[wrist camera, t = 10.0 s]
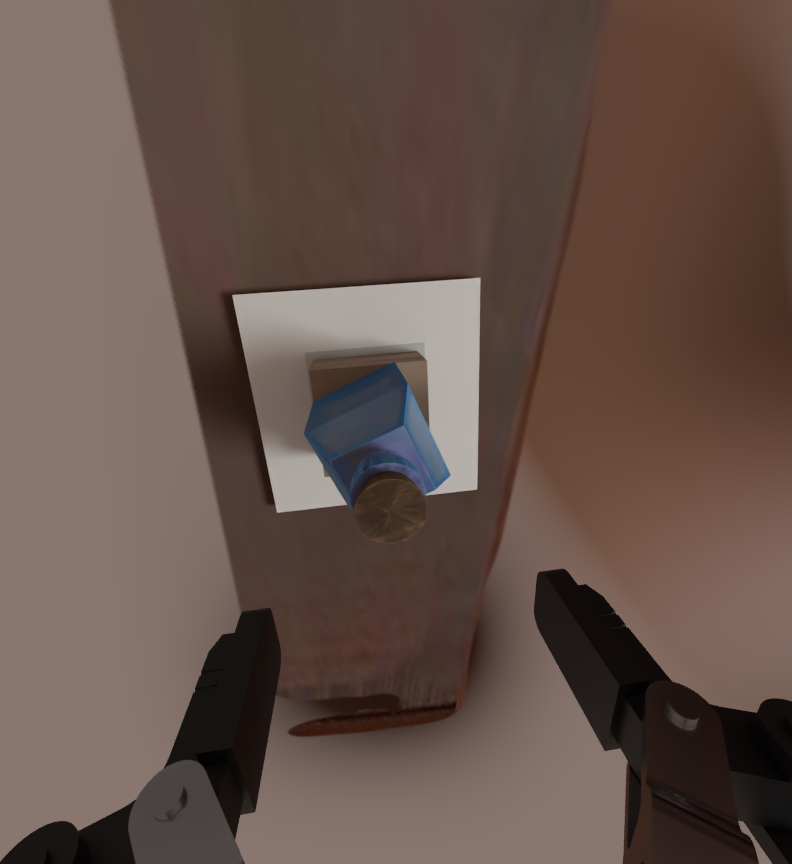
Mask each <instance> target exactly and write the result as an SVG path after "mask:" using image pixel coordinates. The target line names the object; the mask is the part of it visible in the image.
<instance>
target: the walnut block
mask: <svg viewBox="0 0 792 864" xmlns="http://www.w3.org/2000/svg"><path fill="white" fill-rule="evenodd" d="M392 362H395V363H396V365H397V366H398V368H399V370H400V371H401V373H402V375H403V376H404V378H405V379H406V381H407V383H408V385H409V387H410V389H411V391H412V393H413V396H414V398H415V400H416V402H417V404H418V406H419V408H420V410H421V413H422V415H423V417H424V419H425V421H426V423H427V425H428V428H429V401H428V373H427V360H426V359H425V358H424V357H423V356H422V355H421V354H420V353H419V352H418V351H412V352H400V353H389V354H377V355H365V356H354V357H342V358H330V359H319V360H313V363H312V365H311V367H310V369H309V376H310V383H311V389H312V396H313V401H315V400H317V399H319V398H321V397H323V396H325V395H327V394H330V393H332V392H334V391H336V390H338V389H340V388H342V387H344V386H346V385H348V384H350V383H352V382H354V381H356V380H358V379H360V378H362V377H364V376H366V375H368V374H370V373H372V372H374V371H376V370H378V369H380V368H382V367H384V366H386V365H388V364H390V363H392ZM429 430H430V429H429ZM323 470H324V476H325V477H330V476H329V474H328V473H327V471H326V469H325V468H324V466H323Z"/></svg>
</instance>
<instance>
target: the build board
mask: <svg viewBox="0 0 792 864" xmlns="http://www.w3.org/2000/svg"><path fill="white" fill-rule="evenodd" d="M232 297H233V302H234V306H235V311H236V316H237V321H238V326H239V331H240V336H241V340H242V345H243V350H244V355H245V360H246V365H247V369H248V374H249V379H250V384H251V389H252V394H253V399H254V403H255V408H256V413H257V418H258V423H259V428H260V432H261V437H262V442H263V447H264V452H265V457H266V461H267V466H268V471H269V476H270V481H271V486H272V491H273V495H274V500H275V505H276V510H277V513H279V512H288V511H296V510H305V509H314V508H322V507H331V506H339V505H347V504H346V502H345V500H344V499H343V497H342V495H341V494H340V492H339V491H338V489H337V487H336V486H335V484H334V482H333V481H332V479H331V478H330V477H325V476H324V470H323V465H322V463H321V461H320V460H319V458H318V456H317V455H316V453H315V452H314V450H313V448H312V447H311V445H310V443H309V442H308V440H307V439H306V437H305V435H304V431H305V427H306V424H307V421H308V418H309V414H310V411H311V408H312V404H313V396H312V389H311V383H310V376H309V369H310V367H311V365H312V363H313V360H319V359H330V358H342V357H354V356H365V355H377V354H389V353H400V352H412V351H418V352H419V353H420V354H421V355H422V356H423V357H424V358H425V359H426V360H427V373H428V401H429V429H430V432H431V434H432V436H433V438H434V440H435V443H436V445H437V447H438V449H439V451H440V453H441V455H442V458H443V460H444V462H445V464H446V466H447V468H448V470H449V472H450V475H451V476H450V477H449V478H448V479H447V480H446V481H444V482H443V483H442V484H441V485H440V486H439V487H438V488H437V489H436V490H434V491H432V492H430V493H428V494H426V495H433V494H442V493H451V492H459V491H468V490H476V489H477V470H478V401H479V332H480V278H470V279H456V280H441V281H427V282H413V283H398V284H384V285H369V286H355V287H340V288H326V289H311V290H297V291H282V292H268V293H254V294H239V295H232Z"/></svg>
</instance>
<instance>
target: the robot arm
mask: <svg viewBox="0 0 792 864" xmlns="http://www.w3.org/2000/svg"><path fill="white" fill-rule="evenodd" d="M534 615H535V620H536V623H537V627H538V629H539V631H540V633H541V635H542V637H543V639H544V640H545V642H546V644H547V646H548V648H549V650H550V652H551V653H552V655H553V657H554V659H555V661H556V663H557V664H558V666H559V668H560V670H561V672H562V674H563V675H564V677H565V679H566V681H567V682H568V684H569V686H570V688H571V690H572V692H573V694H574V695H575V697H576V699H577V701H578V703H579V705H580V706H581V708H582V710H583V712H584V714H585V716H586V717H587V719H588V721H589V723H590V725H591V727H592V728H593V730H594V732H595V734H596V735H597V737H598V739H599V741H600V743H601V745H602V746H603V748H604V750H605V751H607V750H613V749H619V748H621V750H622V752H623V753H624V755H625V757H626V759H627V760H628V762H627V768H626V796H625V797H626V799H625V825H624V853H623V864H759V862H758V857H757V853H756V850H755V847H754V844H753V842H752V840H751V839H750V837H749V836H748V835H746V834H744V833H742V831H741V829H740V826H739V823H738V820H739V821H743V822H744V823H745V824H746V826H747V827H748V828H749V830H750V832H751V833H752V835H753V836H754V837H755V839H756V840H757V842H758V843H759V845H760V846H761V848H762V849H763V851H764V852H765V853H766V855H767V856H768V858H769V859H770V861H771V862H772V864H792V702H791V701H788V700H784V699H767V700H765V701H764V702H762V704H761V705H760V707H759V709H758V712H757V713H754V712H748V711H742V710H736V709H731V708H725V707H719V706H714V705H711V704H709V703H708V702H707V701H706V700H705V699H704V698H702V697H701V696H700V695H699V694H698V693H696V692H695V691H693V690H691V689H690V688H688V687H686V686H684V685H681V684H679V683H675V682H672V681H671V679H670V678H669V677H668V676H667V675H666V674H665V672H664V671H663V670H662V669H661V667H660V666H659V665H658V664H657V663H656V661H655V660H654V659H653V658H652V656H651V655H650V654H649V653H648V651H646V649H645V648H644V647H643V645H642V644H641V643H640V642H639V640H638V639H637V638H636V637H635V635H634V634H633V633H632V632H631V630H630V629H629V628H627V627H626V624H625V623H624V622H623V621H622V619H621V618H620V617H619V616H618V615H616V613H615V611H614V609H613V608H612V607H611V606H610V605H609V603H608V602H607V601H606V600H605V598H604V597H603V596H602V595H600V594H599V593H597V592H596V591H595V590H593V589H592V588H590V587H589V586H587V585H586V584H584V585H577V583H576V582H575V581H574V579H573V578H572V577H571V575H570V574H569V573H568V572H567V571H566V570H565V569H557V570H550V571H542V572H539V573H538V575H537V583H536V593H535V604H534ZM280 666H281V649H280V643H279V639H278V635H277V631H276V627H275V622H274V618H273V614H272V611H271V609H270V608H265V609H258V610H251V611H243V612H242V613H241V615H240V618H239V621H238V624H237V627H236V630H235V633H231V634H223V635H222V636H221V637H220V639H219V640H218V641H217V642H216V644H215V645H214V646H213V647H212V649H211V650H210V651H209V653H208V656H207V658H206V661H205V663H204V666H203V669H202V671H201V676H200V677H199V679H198V682H197V685H196V688H195V693H193V695H192V698H191V701H190V703H189V706H188V709H187V711H186V714H185V716H184V719H183V722H182V724H181V727H180V730H179V733H178V735H177V738H176V740H175V743H174V746H173V748H172V751H171V754H170V756H169V759H168V761H167V763H166V765H165V767H164V769H163V770H161V771H160V772H159V773H157V775H155V776H154V777H153V778H152V779H151V780H150V781H149V782H148V783H147V785H146V786H145V787H144V788H143V790H142V791H141V793H140V794H139V796H138V797H137V799H136V800H134V801H133V802H132V803H130V804H129V805H127V806H126V807H124V808H122V809H120V810H118V811H116V812H114V813H112V814H111V815H109V816H107V817H105V818H103V819H101V820H99V821H97V822H95V823H93V824H92V825H89V826H87V827H85V828H84V829H82V830H80V831H78V830H77V829H76V827H75V826H74V825H73V824H72V823H69V822H65V821H58V822H53V823H50V824H47V825H45V826H43V827H41V828H39V829H37V830H36V831H34V832H33V833H31V834H30V835H28V836H27V837H25V838H24V839H23V840H22V841H21V842H19V843H18V844H17V845H16V846H15V847H14V848H13V849H12V850H11V851H10V852H9V853H8V854H7V855H6V856H5V857H4V858H3V860H2V861H1V862H0V864H245V863H244V860H243V858H242V856H241V853H240V851H239V849H238V846H237V844H236V842H235V837H236V833H237V827H238V823H239V818H240V815H242V814H247V813H253V812H255V810H256V804H257V799H258V793H259V787H260V781H261V776H262V769H263V764H264V758H265V753H266V747H267V742H268V736H269V730H270V724H271V719H272V713H273V707H274V702H275V696H276V690H277V684H278V679H279V673H280Z"/></svg>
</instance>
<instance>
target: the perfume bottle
mask: <svg viewBox="0 0 792 864" xmlns="http://www.w3.org/2000/svg"><path fill="white" fill-rule="evenodd" d="M304 435H305V437H306V439H307V440H308V442H309V443H310V445H311V447H312V448H313V450H314V452H315V453H316V455H317V456H318V458H319V460H320V461H321V463H322V465H323V466H324V468H325V469H326V471H327V473H328V474H329V476H330V478H331V479H332V481H333V482H334V484H335V486H336V487H337V489H338V491H339V492H340V494H341V495H342V497H343V499H344V500H345V502H346V504H347V505H348V507H349V508H350V510H351V512H352V513H353V515H354V520H355V523H356V525H357V528H358V529H359V530H360V531H361V532H362V533H363V535H364V536H366V537H368V538H369V539H371V540H373V541H376V542H380V543H397V542H400V541H404V540H407V539H408V538H410V537H411V536H413V535H415V534H416V533H417V532H418V531H419V530H420V529H421V527H422V526H423V525H424V523H425V520H426V518H427V514H428V504H427V501H426V494H428V493H430V492H432V491H434V490H436V489H437V488H438V487H439V486H440V485H441V484H442V483H443V482H444V481H446V480H447V479H448V478H449V477H450V476H451V475H450V472H449V470H448V468H447V466H446V464H445V462H444V460H443V458H442V455H441V453H440V451H439V449H438V447H437V445H436V443H435V440H434V438H433V436H432V434H431V432H430V430H429V428H428V425H427V423H426V421H425V419H424V417H423V415H422V413H421V410H420V408H419V406H418V404H417V402H416V400H415V398H414V396H413V393H412V391H411V389H410V387H409V385H408V383H407V381H406V379H405V378H404V376H403V375H402V373H401V371H400V370H399V368H398V366H397V365H396V363H395V362H392V363H390V364H388V365H386V366H384V367H382V368H380V369H378V370H376V371H374V372H372V373H370V374H368V375H366V376H364V377H362V378H360V379H358V380H356V381H354V382H352V383H350V384H348V385H346V386H344V387H342V388H340V389H338V390H336V391H334V392H332V393H330V394H327V395H325V396H323V397H321V398H319V399H317V400H315V401H313V404H312V408H311V411H310V414H309V418H308V421H307V424H306V427H305V431H304Z"/></svg>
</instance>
